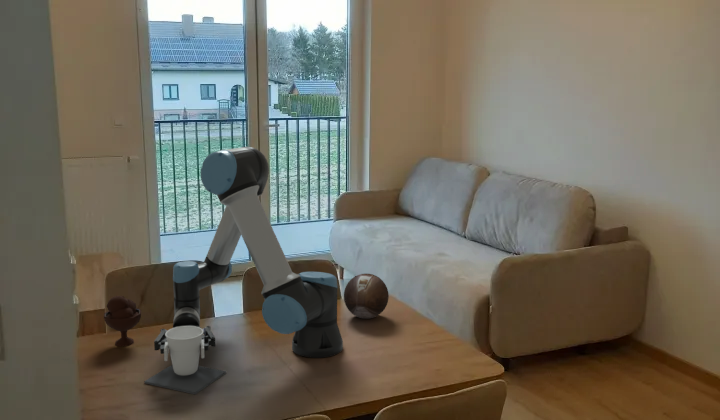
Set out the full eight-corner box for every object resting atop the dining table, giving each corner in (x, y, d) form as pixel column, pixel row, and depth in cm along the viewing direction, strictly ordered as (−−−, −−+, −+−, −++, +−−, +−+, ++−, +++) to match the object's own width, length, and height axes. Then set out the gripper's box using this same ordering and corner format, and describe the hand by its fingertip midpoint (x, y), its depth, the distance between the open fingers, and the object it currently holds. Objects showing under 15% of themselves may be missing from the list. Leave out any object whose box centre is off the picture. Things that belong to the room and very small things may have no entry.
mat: (226, 373, 189) (225, 371, 189) (195, 394, 177) (195, 392, 176) (177, 363, 195) (177, 361, 195) (144, 383, 183) (144, 381, 182)
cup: (212, 367, 188) (211, 329, 186) (188, 382, 179) (187, 341, 177) (182, 361, 192) (181, 323, 190) (158, 374, 183) (156, 335, 181)
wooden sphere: (343, 324, 227) (343, 280, 224) (344, 309, 242) (344, 268, 239) (389, 325, 227) (390, 281, 224) (387, 310, 242) (387, 268, 239)
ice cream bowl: (136, 350, 204) (134, 301, 202) (99, 349, 205) (96, 300, 202) (148, 336, 215) (146, 290, 212) (112, 336, 215) (109, 289, 212)
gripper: (224, 334, 205) (226, 365, 183) (148, 339, 200) (141, 371, 178) (223, 309, 203) (225, 338, 181) (147, 314, 199) (140, 344, 177)
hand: (184, 354), depth 180 cm, fingers closed on cup, 9 cm apart
